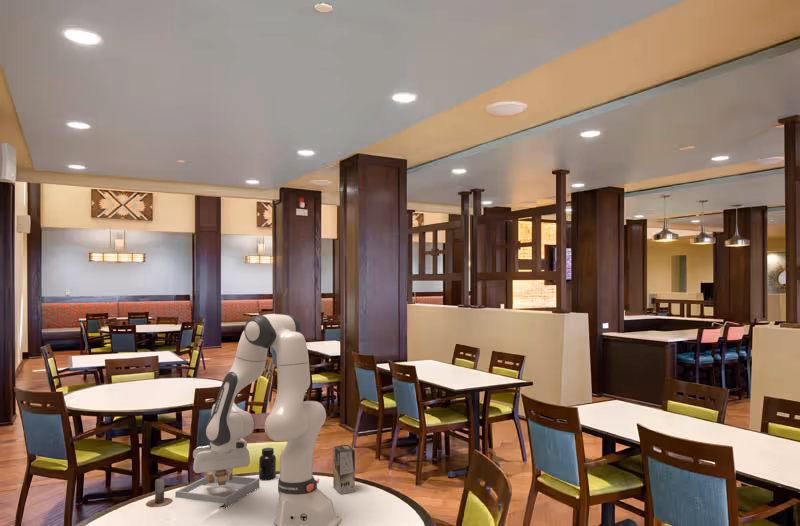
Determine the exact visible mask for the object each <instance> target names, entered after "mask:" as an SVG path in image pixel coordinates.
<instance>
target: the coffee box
mask: <svg viewBox="0 0 800 526" xmlns="http://www.w3.org/2000/svg"><path fill="white" fill-rule="evenodd" d="M355 456H356V451H355V449H354V448H352V447H351V446H349V444H344V445H337V446H333V456H332V457H333V460H332V461H333V465H332V467H333V477H332V478H333V482H332V483H333V488H334V489H335V490H336V491H337V492H338V494H340V495H344V494H351V493H355V491H356V489H355V488H356V485H355V484H356V483H355V482H356V481H355V480H356V476H355V475H356V473H355V472H356V467H355V466H356V465H355V464H356V461H355V460H356V457H355Z"/></svg>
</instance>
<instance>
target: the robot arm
mask: <svg viewBox="0 0 800 526" xmlns="http://www.w3.org/2000/svg"><path fill="white" fill-rule="evenodd" d="M301 327H302V326H301V322H300V321H299V319H298V317H296V316H294V315H292V314H286V313H285V314H281V313H280V314H279V313H267V314H259V315H254V316H252V317H250V318H249V319H248V320H247V321H246V322H245V325H244V330H243V331H242V333H241V335H240V339H239V341H238V345H237V348H236V353H235V355H234V356H235V357H234V360H233V364H232V366H231V368H230V369H229V371H228V373H226V375H225V376H224V378H223V380H222V383H221V385H220V388H219V392H218V394H217V395H218V396H217V398H216V401H215V403H213V405H212V406H211V407H212V408H211V413H210V418H209V420H208V421H207V423H206V426H205V437H206V439H207V440H208V441H209V444H208V445H204V446H198V447H196V448H195V449H193V451H192V457H193V459H194V460H193V467H192V469H193V472H194V473H195V474H202V473H205V472H210V471H211V473H212V475H213V477H214V483H216V482H219V477H218V476H217V477H216V476H215V474H216V471H217V470H225V469H228V471H229V472H228V473H227V475H225V476H226V481H229V476H230V475H231V473H232V474H233V469H237V468H244V467H248V466H249V465H250V464H251V458H250V457H251V456H250V451H249V449H248V448H247V447H248V443H247V440H245V439H244V438H246V437H249V436H251V435H252V433H253V432H254V429H255V428H256V427H255V425H256V422H255V421H256V420H255V418H254V416H253V415H252V413H251V412H250V411H247V410H246V411H245V410H243V409H242V408H241V407H239V406H237V405H236V403H235V399H236V396H237V395H238V394H239V393H240V392H241V390H243V389H245V388H246V387H247V386H248V385H250V384H252V383H254V382H255V381H257V380H258V379H260V377H262V375H263V373H264V371H265V368H266V363H267V359H268V358H267V357H268V350H269V348H270V347H271V348H272V349H274V351H275V354H276V372H277V377H276V379H277V389H276V397H275V399H274V403H273V406H272V408H271V410H270V412H269V414H268V415H267V416H266V419H265V420H264V421H265V422H264V429H265V430H264V431H265V433H266V435H267V437H268V438H269V439H270V440H271V441H272V442H273V441H274V442H286V445H285V446H284V448H283V450H282V451H281V453H280V455H279V478H278V483H277V484H278V485H277V492H278V499H277V500H278V501H277V502H278V503H277V509H276V513H275V517H274V520H273V523H274V524H275V525H276V526H338V525H339V524H340V522H341V520H342V517H341V516H342V515H341V514H340V513H336V512H335V507H334V503H333V501H332V499H331V498H329V497H328V496H327V495H326V494H325V493H324V492H323V491H321V489H319V488H318V484H319V483H320V479H319V478H318V479H315V477H314V475H313V465H314V462H313V461H314V451H315V447H316V444H317V443H316V442H317V439H318V437H319V433H320V430H321V428H322V427H323V425H324V424H325V421H326V418H327V412H326V409H325V407H324V405H323V404H322V403H321V402H319V401H316V400H306V401H304V399H305V395H306V393H307V391H308V389H309V388H310V385H311V373H310V371H311V370H310V358H309V351H308V346H307V342H306V338H305V336H304V334H302V333H301V329H302V328H301Z"/></svg>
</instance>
